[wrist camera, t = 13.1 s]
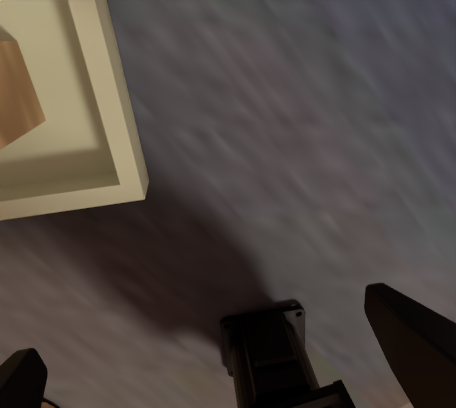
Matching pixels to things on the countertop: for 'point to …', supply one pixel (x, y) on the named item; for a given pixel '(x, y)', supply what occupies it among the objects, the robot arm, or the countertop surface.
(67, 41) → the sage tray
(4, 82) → the wooden block
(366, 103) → the countertop surface
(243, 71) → the countertop surface
